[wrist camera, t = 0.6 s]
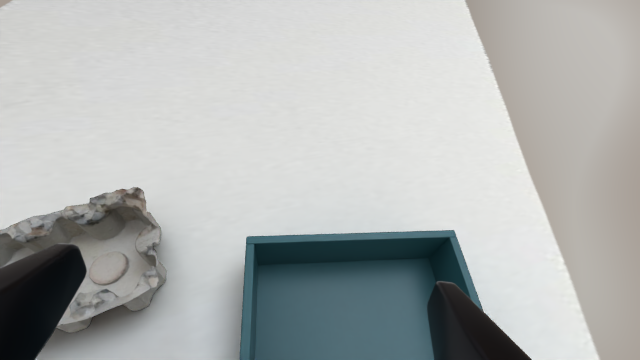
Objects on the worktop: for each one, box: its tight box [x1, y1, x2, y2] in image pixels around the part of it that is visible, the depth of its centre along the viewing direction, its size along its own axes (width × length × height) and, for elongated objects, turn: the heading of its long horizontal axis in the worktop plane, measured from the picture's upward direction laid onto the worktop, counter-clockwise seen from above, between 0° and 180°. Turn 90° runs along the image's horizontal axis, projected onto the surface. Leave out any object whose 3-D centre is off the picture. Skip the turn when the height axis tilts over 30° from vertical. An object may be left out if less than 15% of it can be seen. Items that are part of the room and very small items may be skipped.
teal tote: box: [240, 230, 483, 360], centre depth 18 cm, size 11×13×4 cm
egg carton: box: [0, 187, 166, 333], centre depth 19 cm, size 11×8×4 cm
